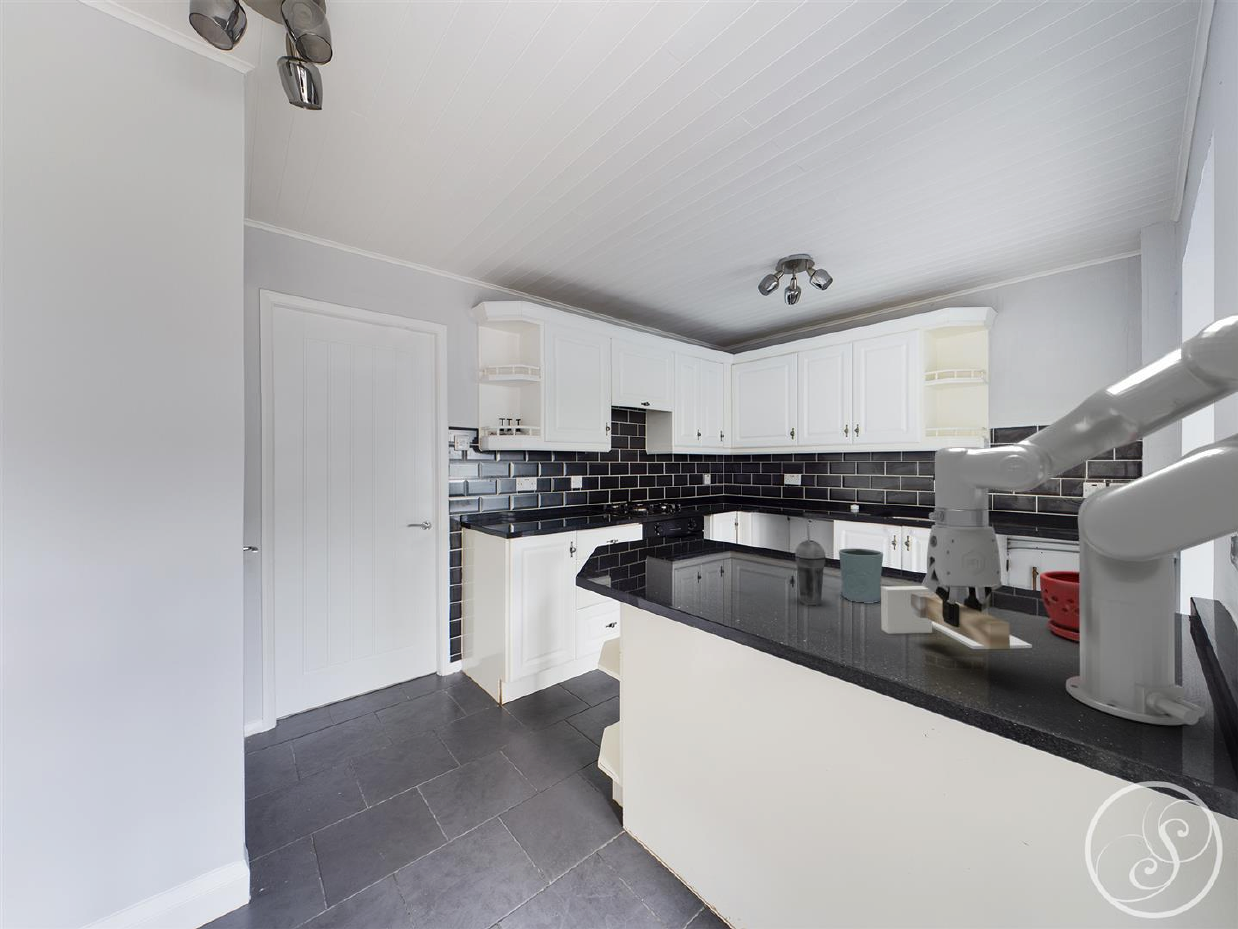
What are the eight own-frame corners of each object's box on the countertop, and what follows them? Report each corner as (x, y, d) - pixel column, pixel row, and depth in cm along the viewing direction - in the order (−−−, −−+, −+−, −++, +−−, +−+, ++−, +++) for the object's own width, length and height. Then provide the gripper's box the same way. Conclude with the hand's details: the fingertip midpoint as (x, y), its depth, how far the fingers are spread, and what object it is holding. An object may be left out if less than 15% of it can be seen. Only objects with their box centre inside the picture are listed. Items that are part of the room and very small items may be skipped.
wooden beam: (1016, 648, 75) (1015, 622, 75) (984, 649, 75) (983, 623, 75) (936, 612, 94) (936, 592, 94) (911, 613, 94) (910, 592, 94)
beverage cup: (831, 602, 121) (830, 522, 120) (820, 609, 115) (818, 525, 115) (802, 596, 126) (801, 520, 125) (790, 603, 120) (789, 523, 120)
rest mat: (1032, 648, 90) (1032, 645, 90) (973, 649, 90) (973, 646, 90) (945, 608, 114) (945, 605, 114) (899, 609, 114) (899, 606, 114)
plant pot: (1102, 628, 100) (1101, 570, 100) (1152, 653, 87) (1152, 587, 87) (1026, 623, 103) (1026, 567, 103) (1064, 647, 91) (1064, 583, 90)
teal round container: (845, 603, 119) (845, 555, 119) (834, 592, 129) (833, 547, 129) (890, 605, 118) (889, 555, 117) (875, 593, 127) (874, 547, 127)
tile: (932, 632, 99) (931, 589, 99) (888, 633, 99) (887, 590, 99) (924, 628, 102) (923, 585, 101) (881, 629, 102) (880, 586, 102)
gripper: (927, 522, 80) (928, 633, 80) (1026, 520, 80) (1027, 631, 80) (901, 516, 87) (902, 618, 88) (991, 515, 87) (992, 616, 88)
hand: (961, 623), depth 84 cm, fingers closed on wooden beam, 3 cm apart
